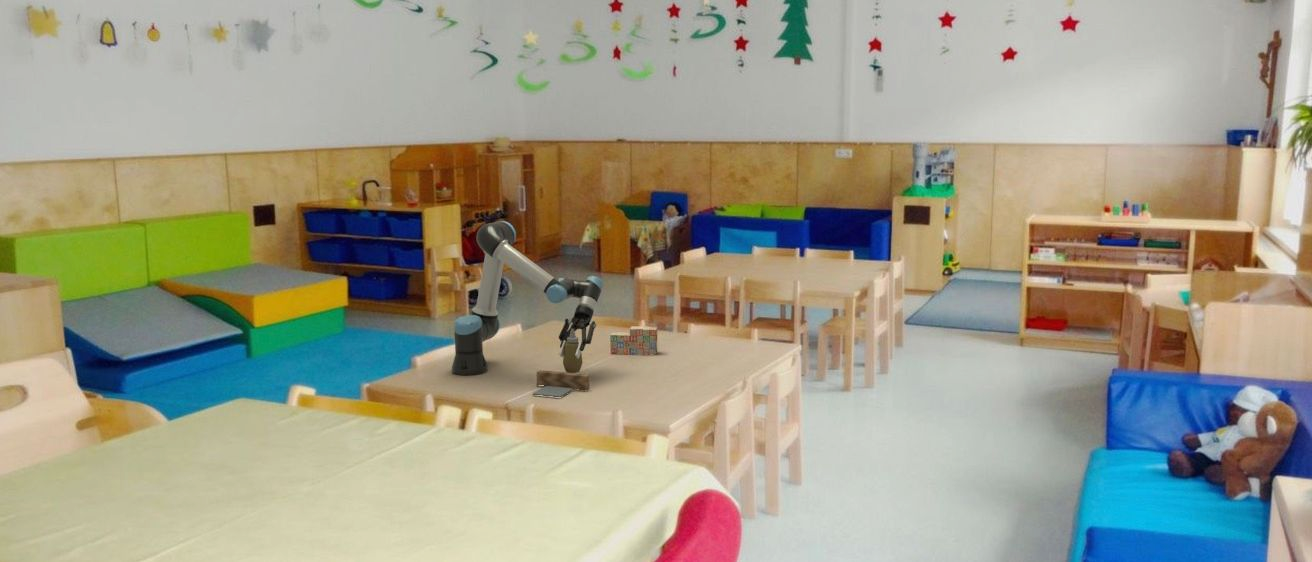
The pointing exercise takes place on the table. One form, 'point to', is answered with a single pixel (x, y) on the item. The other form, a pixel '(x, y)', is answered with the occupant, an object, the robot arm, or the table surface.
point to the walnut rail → (563, 379)
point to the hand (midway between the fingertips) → (568, 356)
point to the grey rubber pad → (553, 391)
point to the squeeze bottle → (572, 354)
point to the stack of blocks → (635, 341)
